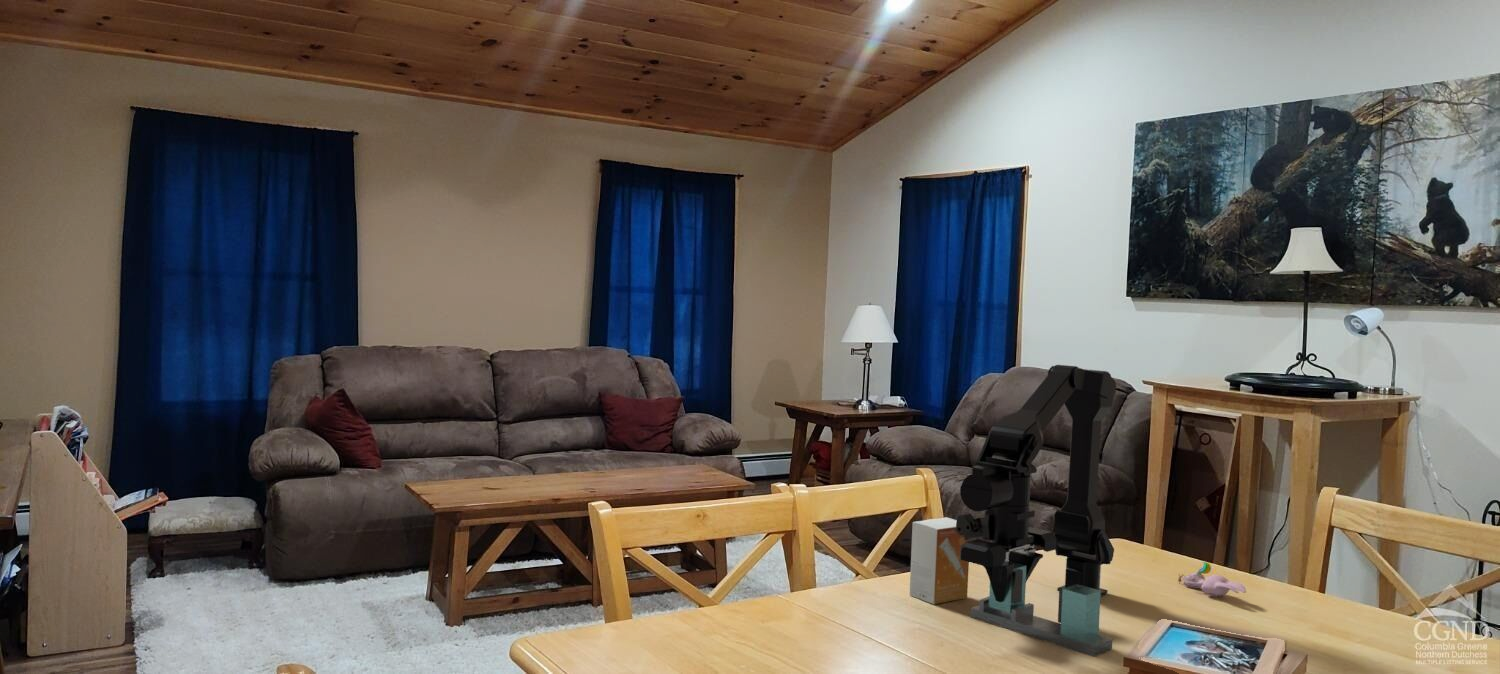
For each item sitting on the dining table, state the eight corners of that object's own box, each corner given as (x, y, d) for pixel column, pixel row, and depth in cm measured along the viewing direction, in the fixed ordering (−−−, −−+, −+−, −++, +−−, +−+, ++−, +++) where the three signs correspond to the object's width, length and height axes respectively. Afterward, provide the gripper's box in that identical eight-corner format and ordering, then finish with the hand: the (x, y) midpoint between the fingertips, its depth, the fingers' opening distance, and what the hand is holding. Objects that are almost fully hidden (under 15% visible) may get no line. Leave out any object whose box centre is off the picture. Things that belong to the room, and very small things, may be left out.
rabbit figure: (1170, 591, 189) (1226, 603, 174) (1168, 558, 189) (1224, 567, 175) (1199, 590, 190) (1257, 601, 176) (1197, 557, 191) (1255, 566, 176)
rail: (988, 611, 169) (990, 560, 169) (1112, 649, 153) (1114, 593, 153) (970, 617, 166) (972, 565, 166) (1094, 656, 150) (1097, 599, 149)
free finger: (1003, 602, 167) (1005, 559, 166) (1027, 609, 163) (1029, 566, 163) (989, 606, 164) (990, 563, 164) (1013, 614, 161) (1015, 570, 160)
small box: (934, 605, 172) (937, 529, 171) (908, 595, 177) (911, 521, 176) (968, 598, 176) (971, 523, 175) (942, 588, 181) (945, 516, 181)
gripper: (1002, 487, 175) (998, 577, 176) (934, 501, 163) (930, 597, 164) (1059, 499, 167) (1055, 593, 168) (992, 514, 154) (988, 615, 155)
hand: (1007, 598), depth 164 cm, fingers closed on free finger, 4 cm apart
